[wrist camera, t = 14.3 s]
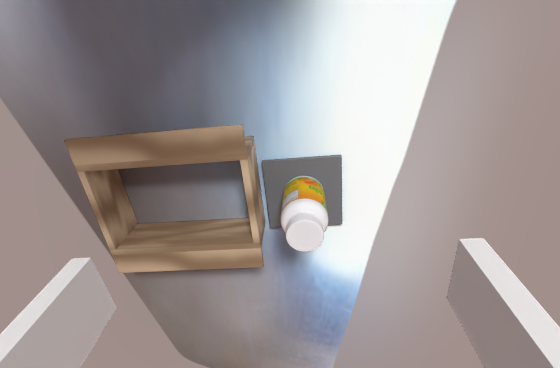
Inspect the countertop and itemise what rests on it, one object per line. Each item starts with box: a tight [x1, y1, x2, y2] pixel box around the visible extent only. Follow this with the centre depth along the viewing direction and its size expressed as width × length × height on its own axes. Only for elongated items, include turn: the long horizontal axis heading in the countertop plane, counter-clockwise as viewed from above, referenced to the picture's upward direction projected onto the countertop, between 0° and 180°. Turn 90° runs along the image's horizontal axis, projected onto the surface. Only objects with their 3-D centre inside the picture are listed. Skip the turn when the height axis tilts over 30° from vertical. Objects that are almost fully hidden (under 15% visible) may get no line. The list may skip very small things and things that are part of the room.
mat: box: [262, 155, 342, 228], centre depth 41 cm, size 10×10×1 cm
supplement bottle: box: [281, 176, 328, 252], centre depth 36 cm, size 5×5×10 cm
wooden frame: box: [64, 124, 265, 273], centre depth 39 cm, size 19×20×6 cm
